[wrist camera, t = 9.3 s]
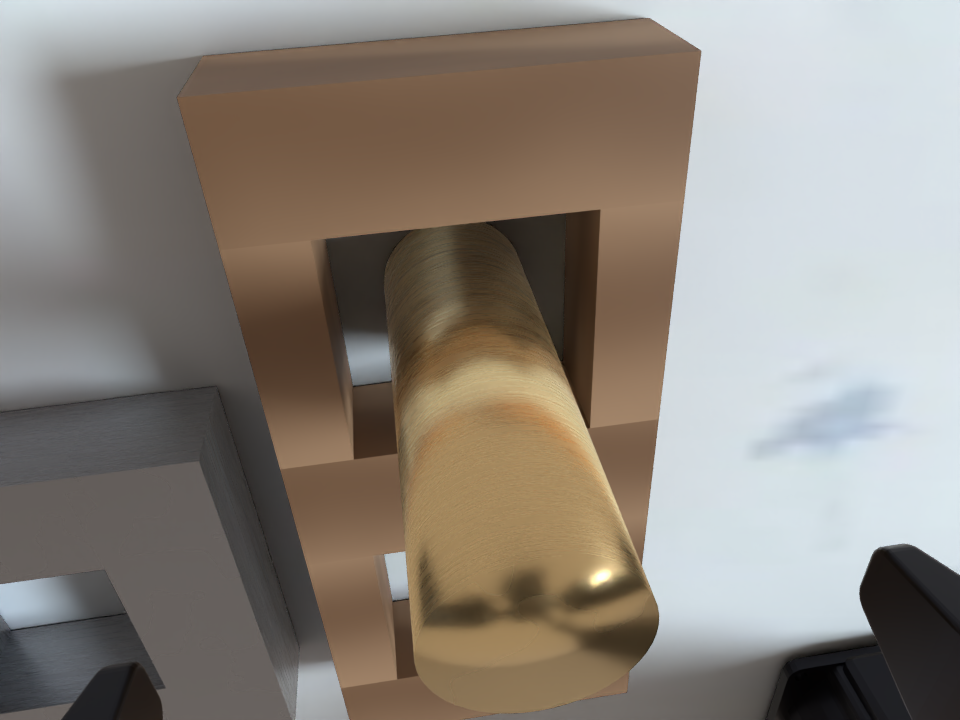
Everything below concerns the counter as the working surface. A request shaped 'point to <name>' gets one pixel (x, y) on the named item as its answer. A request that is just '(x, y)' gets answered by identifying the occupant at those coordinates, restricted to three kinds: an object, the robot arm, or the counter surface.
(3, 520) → the socket block
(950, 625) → the robot arm
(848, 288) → the counter surface
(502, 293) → the peg
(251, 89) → the rack
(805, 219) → the counter surface
